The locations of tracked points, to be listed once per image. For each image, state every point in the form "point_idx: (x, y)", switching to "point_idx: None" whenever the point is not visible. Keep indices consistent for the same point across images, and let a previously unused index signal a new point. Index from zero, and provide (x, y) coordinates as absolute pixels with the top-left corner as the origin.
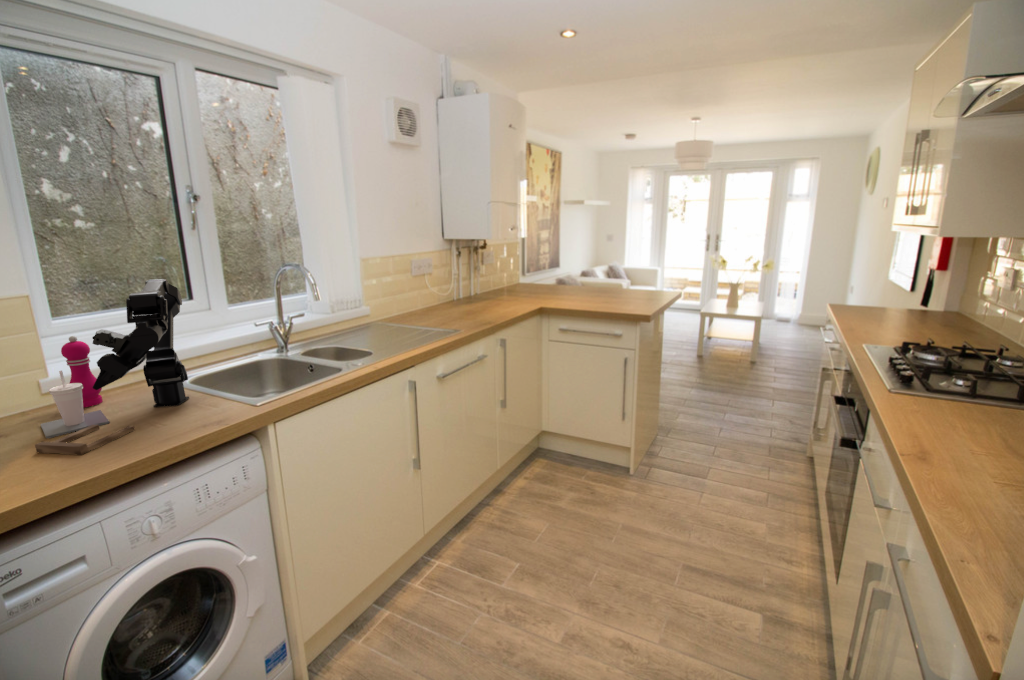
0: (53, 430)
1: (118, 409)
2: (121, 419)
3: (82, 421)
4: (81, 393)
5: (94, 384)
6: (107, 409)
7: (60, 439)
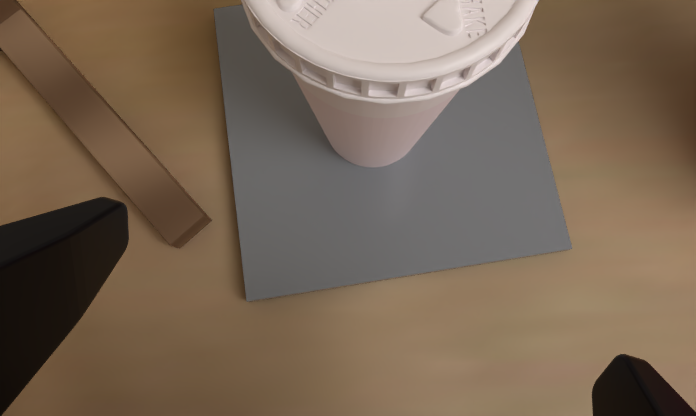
0: None
1: (550, 355)
2: (278, 369)
3: (346, 158)
4: (350, 105)
5: (44, 217)
6: (603, 289)
7: (53, 72)
